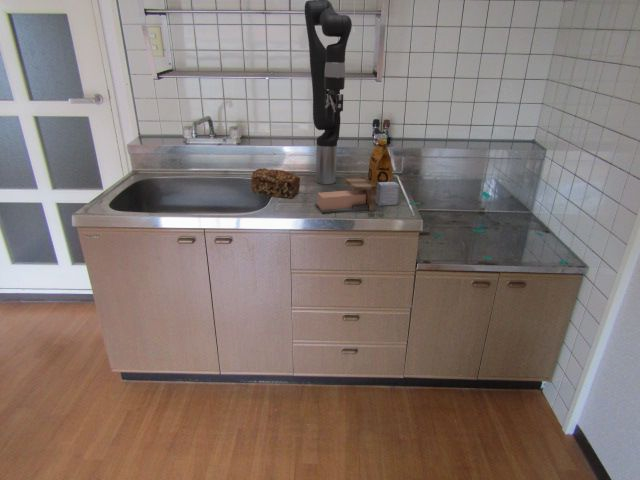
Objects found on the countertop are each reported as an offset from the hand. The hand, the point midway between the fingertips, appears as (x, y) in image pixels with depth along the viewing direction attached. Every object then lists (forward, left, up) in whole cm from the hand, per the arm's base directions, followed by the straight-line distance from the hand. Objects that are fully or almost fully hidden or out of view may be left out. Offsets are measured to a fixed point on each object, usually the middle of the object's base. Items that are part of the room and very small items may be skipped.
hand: (332, 120), depth 169 cm
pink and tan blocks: (+10, +3, -32) cm, 34 cm away
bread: (-13, -20, -32) cm, 40 cm away
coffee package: (-6, +25, -32) cm, 41 cm away
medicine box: (+10, +21, -32) cm, 40 cm away
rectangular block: (+10, +1, -31) cm, 33 cm away
